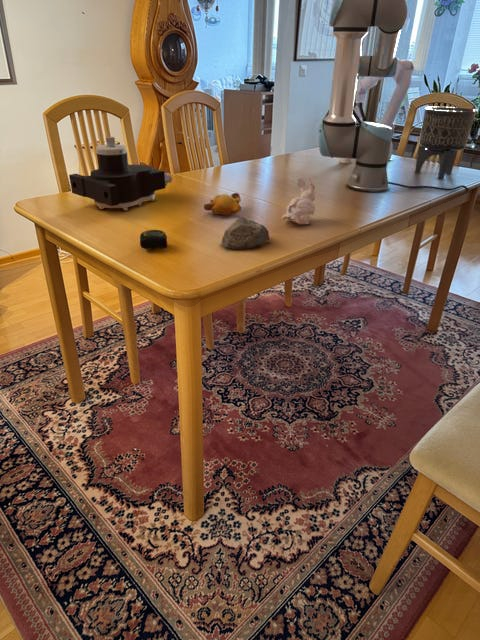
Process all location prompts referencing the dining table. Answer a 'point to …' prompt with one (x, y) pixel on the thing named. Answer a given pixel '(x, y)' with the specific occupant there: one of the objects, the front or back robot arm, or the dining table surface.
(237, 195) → the toy
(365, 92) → the back robot arm
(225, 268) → the dining table surface
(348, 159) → the canister
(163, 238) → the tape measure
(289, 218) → the figurine
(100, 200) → the mechanical component
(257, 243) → the rock
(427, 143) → the planter
